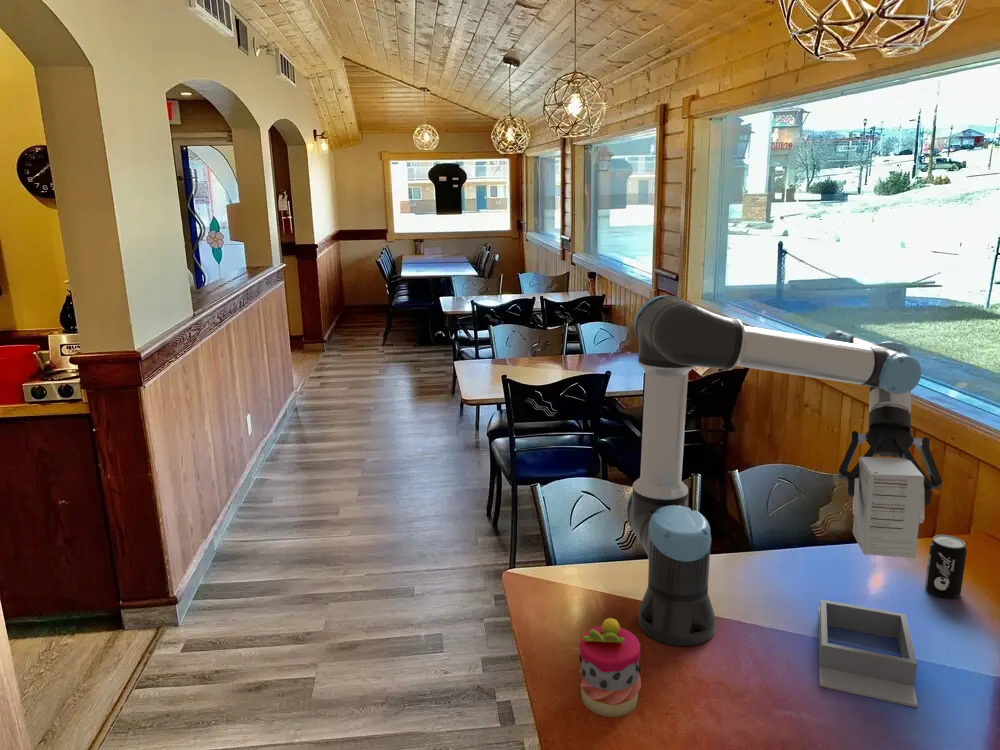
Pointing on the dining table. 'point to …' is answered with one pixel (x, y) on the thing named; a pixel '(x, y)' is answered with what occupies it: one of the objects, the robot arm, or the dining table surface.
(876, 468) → the supplement box
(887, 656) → the grey open box
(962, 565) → the beverage can
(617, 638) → the cake
